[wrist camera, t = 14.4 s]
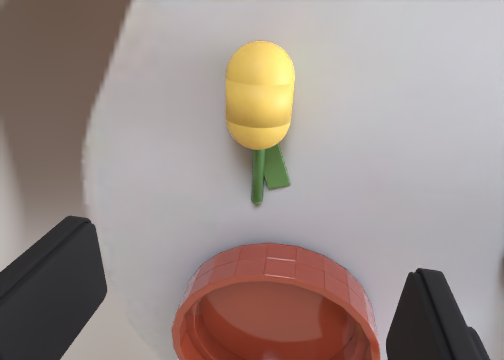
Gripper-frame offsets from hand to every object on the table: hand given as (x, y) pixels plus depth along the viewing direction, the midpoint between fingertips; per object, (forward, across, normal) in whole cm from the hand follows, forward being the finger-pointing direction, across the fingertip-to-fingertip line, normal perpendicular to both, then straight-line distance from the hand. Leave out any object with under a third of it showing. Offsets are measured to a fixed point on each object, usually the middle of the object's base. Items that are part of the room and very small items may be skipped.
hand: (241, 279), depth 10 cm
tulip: (+17, +2, +1) cm, 17 cm away
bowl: (+17, -1, +20) cm, 27 cm away
